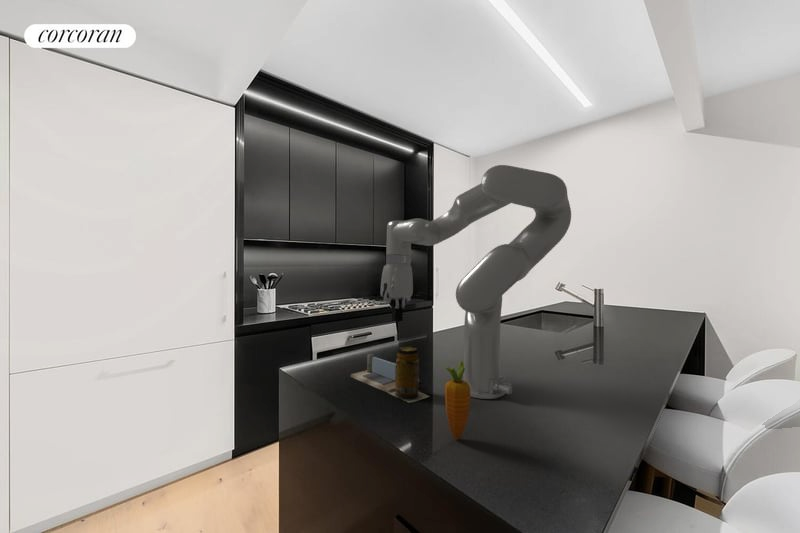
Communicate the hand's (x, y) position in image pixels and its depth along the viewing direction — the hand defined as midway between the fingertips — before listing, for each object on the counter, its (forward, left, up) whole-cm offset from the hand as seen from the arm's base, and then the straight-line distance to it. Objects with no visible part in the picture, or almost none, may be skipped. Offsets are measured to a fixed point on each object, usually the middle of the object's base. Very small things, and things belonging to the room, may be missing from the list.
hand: (397, 320), depth 103 cm
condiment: (-14, +8, -17) cm, 23 cm away
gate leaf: (-1, +5, -16) cm, 16 cm away
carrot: (-36, +17, -17) cm, 43 cm away
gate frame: (-1, +5, -17) cm, 18 cm away
